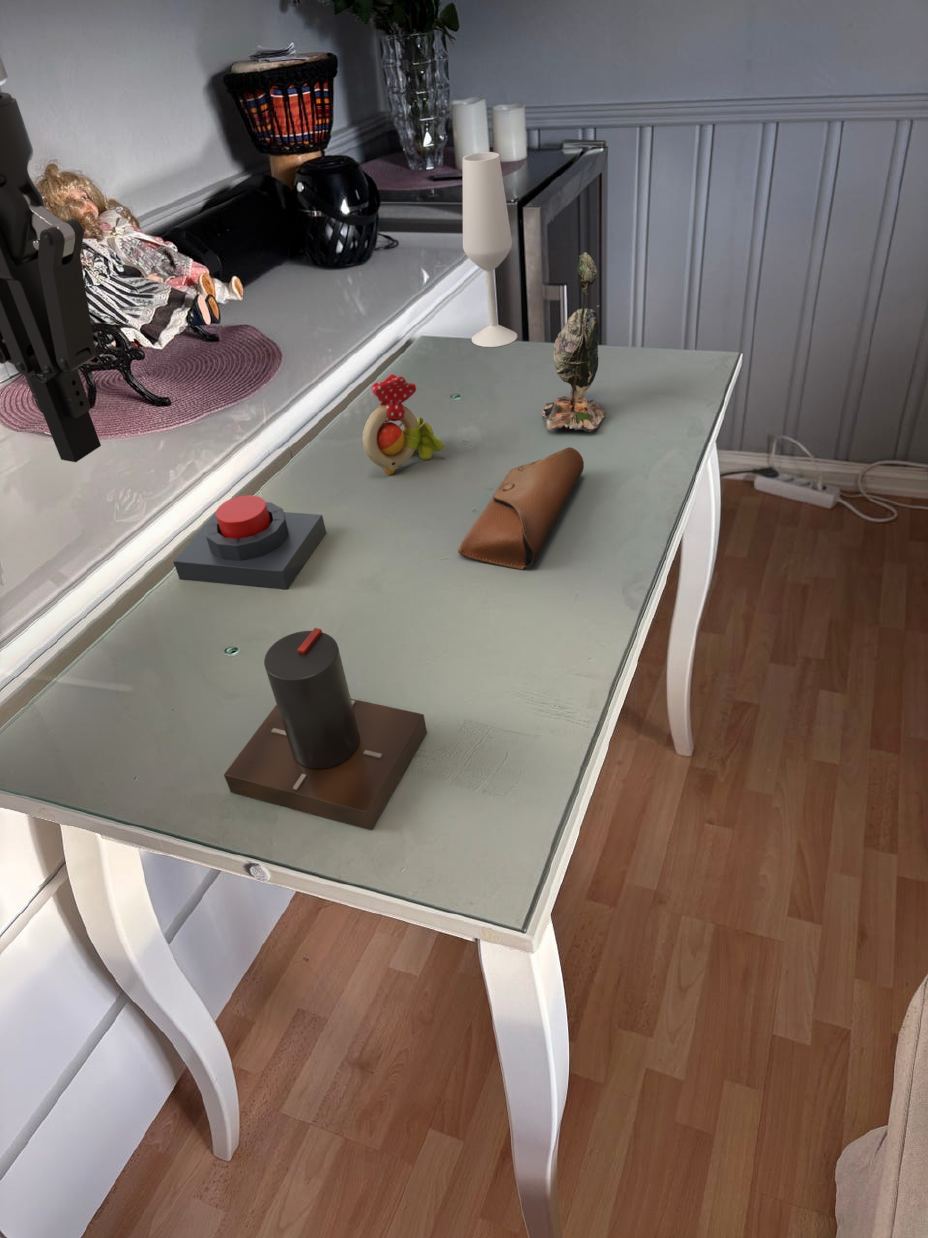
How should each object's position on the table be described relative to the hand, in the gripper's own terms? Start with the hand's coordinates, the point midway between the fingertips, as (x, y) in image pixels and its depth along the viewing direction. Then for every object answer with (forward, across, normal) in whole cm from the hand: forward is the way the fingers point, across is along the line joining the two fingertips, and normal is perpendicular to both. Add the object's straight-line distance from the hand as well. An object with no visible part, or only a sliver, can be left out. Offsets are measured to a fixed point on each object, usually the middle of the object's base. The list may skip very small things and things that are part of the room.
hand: (81, 452), depth 69 cm
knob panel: (+21, -21, +5) cm, 30 cm away
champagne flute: (+20, -1, -74) cm, 77 cm away
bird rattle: (+20, -5, -38) cm, 43 cm away
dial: (+19, -21, +5) cm, 29 cm away
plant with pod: (+20, -20, -54) cm, 61 cm away
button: (+17, +1, -17) cm, 24 cm away
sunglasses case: (+20, -23, -31) cm, 44 cm away
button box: (+21, +1, -17) cm, 26 cm away
